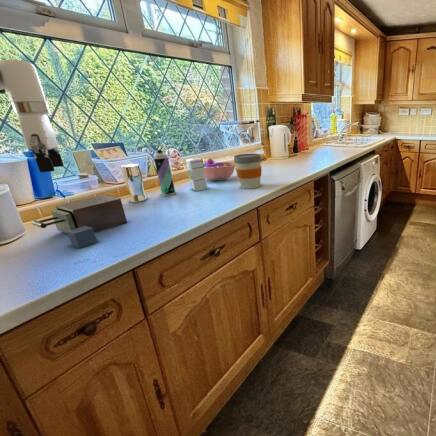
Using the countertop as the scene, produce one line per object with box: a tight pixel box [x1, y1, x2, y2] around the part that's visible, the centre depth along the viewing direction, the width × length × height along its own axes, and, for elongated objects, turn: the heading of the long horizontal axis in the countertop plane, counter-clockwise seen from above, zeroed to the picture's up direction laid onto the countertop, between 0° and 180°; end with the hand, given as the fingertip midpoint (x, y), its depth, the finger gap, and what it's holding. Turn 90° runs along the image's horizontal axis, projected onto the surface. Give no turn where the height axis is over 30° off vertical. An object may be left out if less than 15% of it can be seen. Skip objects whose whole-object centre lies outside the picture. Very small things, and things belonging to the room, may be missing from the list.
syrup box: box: [185, 157, 208, 192], centre depth 142 cm, size 6×6×14 cm
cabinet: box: [55, 194, 128, 234], centre depth 99 cm, size 14×12×9 cm
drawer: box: [31, 208, 77, 235], centre depth 95 cm, size 18×10×7 cm, turn 151°
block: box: [66, 226, 98, 249], centre depth 86 cm, size 4×4×4 cm
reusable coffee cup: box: [233, 153, 262, 190], centre depth 144 cm, size 12×13×15 cm
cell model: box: [203, 158, 236, 181], centre depth 161 cm, size 17×20×11 cm
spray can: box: [153, 149, 176, 197], centre depth 135 cm, size 6×6×20 cm
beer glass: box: [120, 163, 148, 203], centre depth 127 cm, size 7×7×15 cm
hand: (52, 169), depth 92 cm, fingers open, 9 cm apart
